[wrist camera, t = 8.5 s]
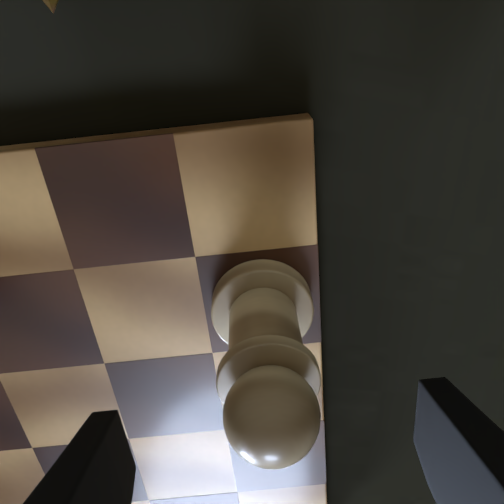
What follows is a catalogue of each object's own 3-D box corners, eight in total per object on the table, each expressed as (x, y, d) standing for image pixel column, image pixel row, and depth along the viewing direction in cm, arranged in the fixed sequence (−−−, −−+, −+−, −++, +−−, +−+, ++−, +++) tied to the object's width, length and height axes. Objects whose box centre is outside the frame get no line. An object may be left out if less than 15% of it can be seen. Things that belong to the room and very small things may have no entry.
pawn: (312, 336, 16) (351, 498, 11) (218, 345, 16) (209, 511, 11) (308, 252, 15) (352, 393, 9) (205, 263, 15) (186, 409, 9)
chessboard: (325, 518, 23) (328, 537, 22) (12, 547, 23) (4, 566, 22) (308, 112, 14) (313, 118, 13) (-212, 168, 14) (-240, 177, 13)
